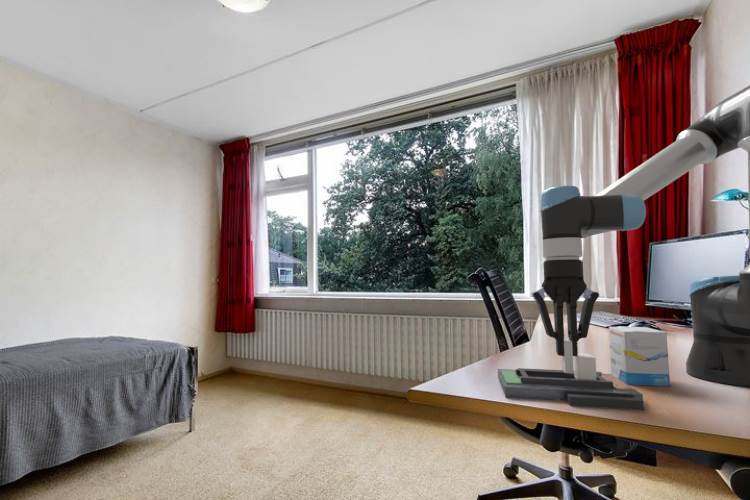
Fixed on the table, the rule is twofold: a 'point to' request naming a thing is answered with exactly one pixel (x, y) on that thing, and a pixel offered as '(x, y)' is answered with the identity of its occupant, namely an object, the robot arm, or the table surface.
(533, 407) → the table surface
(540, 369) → the dark grey slim bar
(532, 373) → the panel
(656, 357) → the ink box
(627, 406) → the dark grey bar
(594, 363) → the white rectangular block
